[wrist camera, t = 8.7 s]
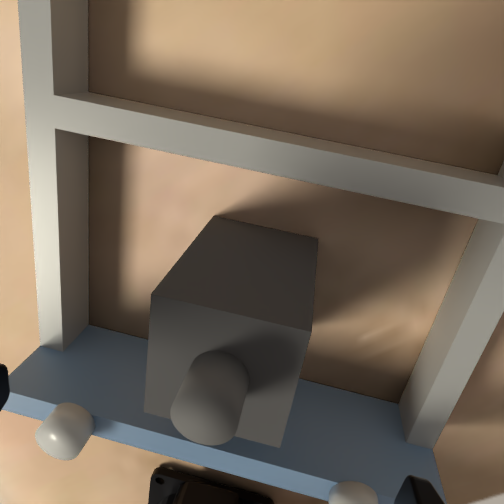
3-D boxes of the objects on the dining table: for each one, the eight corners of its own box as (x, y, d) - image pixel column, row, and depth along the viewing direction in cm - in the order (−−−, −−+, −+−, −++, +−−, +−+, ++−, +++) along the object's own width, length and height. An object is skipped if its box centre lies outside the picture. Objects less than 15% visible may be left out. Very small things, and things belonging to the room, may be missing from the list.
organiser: (411, 431, 18) (442, 570, 13) (68, 342, 19) (-22, 435, 14) (774, -337, 8) (1406, -920, 3) (48, -403, 10) (-241, -883, 5)
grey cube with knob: (296, 326, 17) (273, 498, 10) (202, 304, 17) (119, 456, 10) (318, 238, 15) (308, 374, 8) (213, 215, 16) (123, 328, 9)
